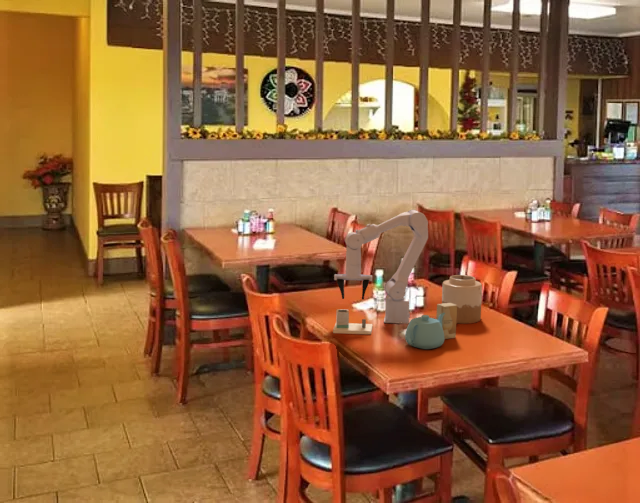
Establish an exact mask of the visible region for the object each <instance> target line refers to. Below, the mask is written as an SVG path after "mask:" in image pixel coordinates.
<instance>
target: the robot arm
mask: <svg viewBox="0 0 640 503" xmlns="http://www.w3.org/2000/svg"><path fill="white" fill-rule="evenodd" d="M428 225H429V221H428V218H427V217H426V215H425V214H424V213H423V212H420V211H418V210H417V209H410V210H408V211H404V212H401V213H399V214H398V215H395V216H394V217H392V218H389V219H387V220H385V221H383V222H381V223H380V224H375V223H372V224H371V223H368V224H366V226H365V227H362V228H361V229H357V228H356V229H355V232H354V231H353V232H349V233H347V235H346V236H345V238H344V243H345V244H346V247H345V250H346V252H345V273H340V274H339V273H337V274H336V273H335V274H334V275H333V277H334V278H333V280H334V281H336V283H337V286H338V288H339V291H340V295H341V299H342V300H344V299H345V281H362V282H361V284H362V285H361V286H362V289H361V290H362V293H361V294H362V295H361V300H365V294H366V291H367V288H368V286H369V284H370V282H372V281H373V275H372V274H371V275H369V274H362V251H361V250H362V248H361V247H362V246H363V245H365V244H368V243H369V242H372V241H374V240H377V239H379V238H380V237H381V236H380V235H381V234H382V233H384V232H387V231H390V230H392V229H395V228H396V227H399V226H403V227H409V228H410V229H411V232H412V235H413V238H412V240H411V242H410V244H409V246H408V248H407V250H406V252H405V254H404V256H403V258H402V259H401V261H400V264H399V266H398V268H397V270H396V272H394V274H393V275H392V276H391V278H390V279H388V281H386V283H385V286H384V291H385V293H386V296H385V308H384V309H385V310H384V311H385V314H384V319H383V323H386V324H405V325H406V324H408V325H409V323H410V321H409V320H410V316H411V314H410V299H408V298H405V296H406V292H407V291H406V289H407V287H408V282H409V277H410V275H411V273H412V271H413V269H414V268H415V265H416V263H417V262H418V259H419V258H420V255H421V253H422V252H423V250H424V247H425V246H426V244H427V241H428V240H429V228H428V227H429V226H428Z"/></svg>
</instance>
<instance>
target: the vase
mask: <svg viewBox="0 0 640 503" xmlns="http://www.w3.org/2000/svg"><path fill="white" fill-rule="evenodd" d="M441 286H442V288H441V304H443V303H452V304H455V305H457V318H456V324H464V325H465V324H466V325H467V324H475V323H478V322H480V321H481V318H482V296H483V292H482V291H483V284H482V283H481V282H480V281H478V280H476V277H474V276H472V275H469V274H468V275H465V274H455V275H454V274H453V275H450V277H449V279H446V280H444V281H443V282H442V285H441Z"/></svg>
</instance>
